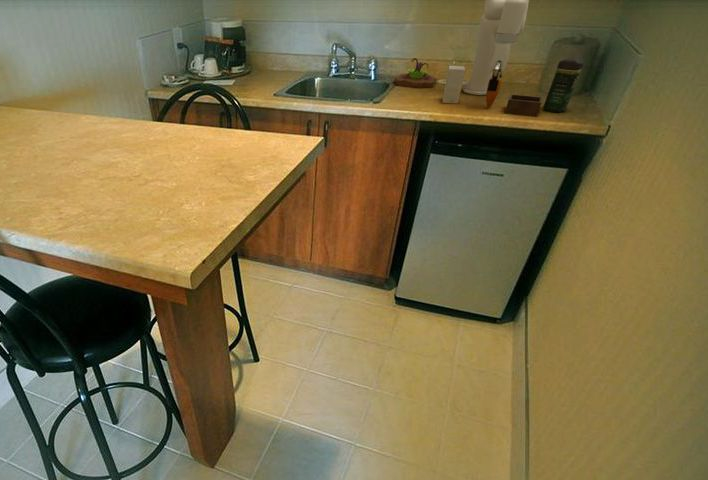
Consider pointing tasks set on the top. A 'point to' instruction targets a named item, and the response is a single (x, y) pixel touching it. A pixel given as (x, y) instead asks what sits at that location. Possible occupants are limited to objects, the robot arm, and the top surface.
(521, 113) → the pen box
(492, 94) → the carrot
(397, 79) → the plant
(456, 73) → the small box
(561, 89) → the coffee jar
